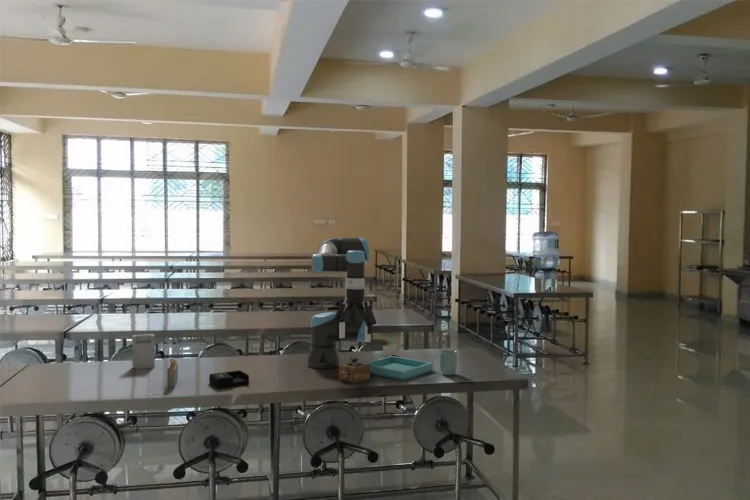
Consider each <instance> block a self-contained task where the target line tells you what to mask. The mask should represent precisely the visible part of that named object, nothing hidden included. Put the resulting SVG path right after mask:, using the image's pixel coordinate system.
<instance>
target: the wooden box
mask: <svg viewBox="0 0 750 500" xmlns="http://www.w3.org/2000/svg"><path fill="white" fill-rule="evenodd" d="M365 363H366V362H359V361H357V366H356V367H355V366H351V364H352V361H349V362H345V363H340V365H339V366H338V380H339V381H340V380H341V381H344V382H349V383H355V384H357V383H360V382H364V381H366V380H367V381H368V380H370V375H371V374H370V364H365Z"/></svg>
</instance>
